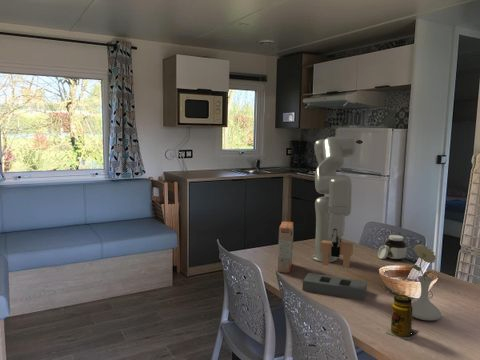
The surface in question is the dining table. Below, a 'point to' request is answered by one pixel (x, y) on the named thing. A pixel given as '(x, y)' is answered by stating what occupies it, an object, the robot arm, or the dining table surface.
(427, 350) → the dining table surface
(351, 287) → the gray socket block
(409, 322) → the condiment
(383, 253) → the spread jar
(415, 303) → the flower in vase
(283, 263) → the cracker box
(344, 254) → the clip
